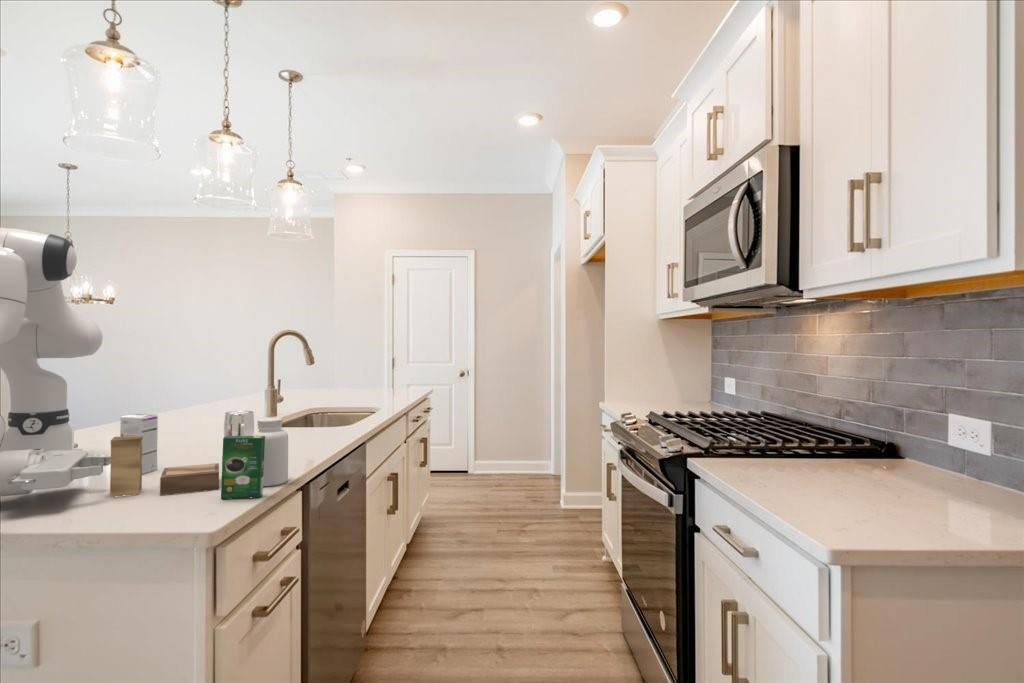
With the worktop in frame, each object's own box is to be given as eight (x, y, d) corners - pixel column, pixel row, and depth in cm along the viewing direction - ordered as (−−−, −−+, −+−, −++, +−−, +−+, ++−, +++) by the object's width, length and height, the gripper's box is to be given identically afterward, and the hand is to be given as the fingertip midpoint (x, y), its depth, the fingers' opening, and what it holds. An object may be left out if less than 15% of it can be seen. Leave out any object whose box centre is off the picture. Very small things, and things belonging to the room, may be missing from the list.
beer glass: (259, 469, 136) (260, 412, 136) (232, 475, 131) (233, 414, 131) (243, 466, 140) (244, 409, 140) (217, 471, 134) (218, 412, 134)
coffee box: (265, 494, 115) (265, 434, 115) (261, 498, 112) (262, 436, 112) (224, 496, 113) (225, 435, 113) (220, 500, 110) (221, 437, 110)
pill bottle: (252, 480, 127) (253, 417, 127) (288, 477, 129) (289, 416, 129) (248, 488, 119) (249, 422, 119) (287, 485, 122) (288, 421, 122)
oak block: (113, 492, 115) (114, 436, 115) (141, 489, 117) (142, 435, 117) (109, 497, 111) (110, 440, 111) (139, 494, 113) (140, 438, 113)
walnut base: (164, 484, 122) (164, 467, 122) (218, 478, 127) (218, 462, 127) (160, 495, 113) (160, 476, 113) (218, 489, 118) (219, 471, 118)
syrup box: (158, 469, 135) (159, 413, 135) (139, 475, 129) (140, 416, 129) (137, 469, 136) (138, 412, 136) (118, 474, 130) (119, 415, 130)
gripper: (2, 467, 97) (97, 460, 103) (36, 447, 114) (115, 442, 121) (1, 501, 97) (96, 492, 103) (35, 476, 114) (114, 469, 121)
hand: (106, 465), depth 112 cm, fingers open, 8 cm apart
